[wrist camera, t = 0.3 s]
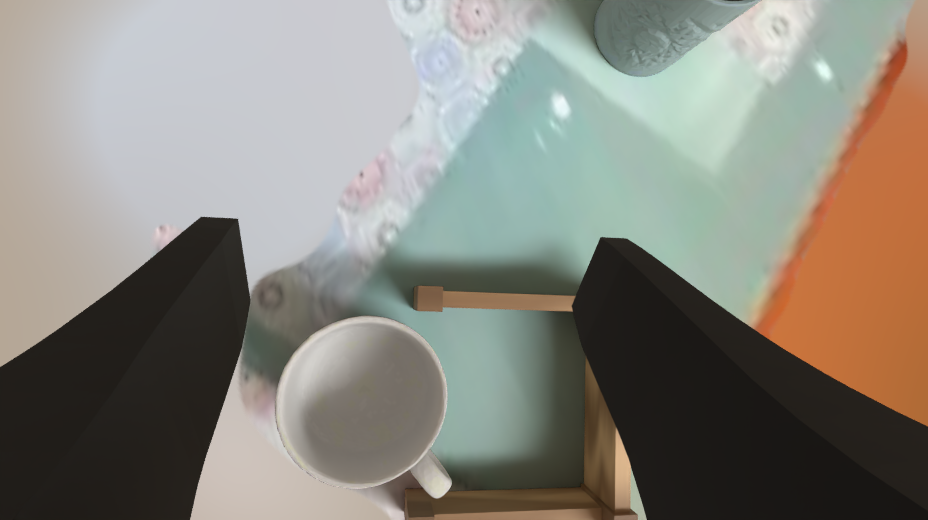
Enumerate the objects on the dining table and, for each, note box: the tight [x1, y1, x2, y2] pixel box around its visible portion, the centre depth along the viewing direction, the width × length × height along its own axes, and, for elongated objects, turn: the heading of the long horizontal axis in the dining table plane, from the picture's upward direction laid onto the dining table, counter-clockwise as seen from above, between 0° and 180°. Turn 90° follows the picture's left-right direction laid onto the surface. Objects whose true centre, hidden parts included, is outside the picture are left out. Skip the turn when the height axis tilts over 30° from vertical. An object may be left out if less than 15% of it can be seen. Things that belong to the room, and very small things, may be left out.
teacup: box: [275, 315, 452, 498], centre depth 34 cm, size 14×11×8 cm
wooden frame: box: [404, 286, 638, 520], centre depth 37 cm, size 18×16×6 cm
